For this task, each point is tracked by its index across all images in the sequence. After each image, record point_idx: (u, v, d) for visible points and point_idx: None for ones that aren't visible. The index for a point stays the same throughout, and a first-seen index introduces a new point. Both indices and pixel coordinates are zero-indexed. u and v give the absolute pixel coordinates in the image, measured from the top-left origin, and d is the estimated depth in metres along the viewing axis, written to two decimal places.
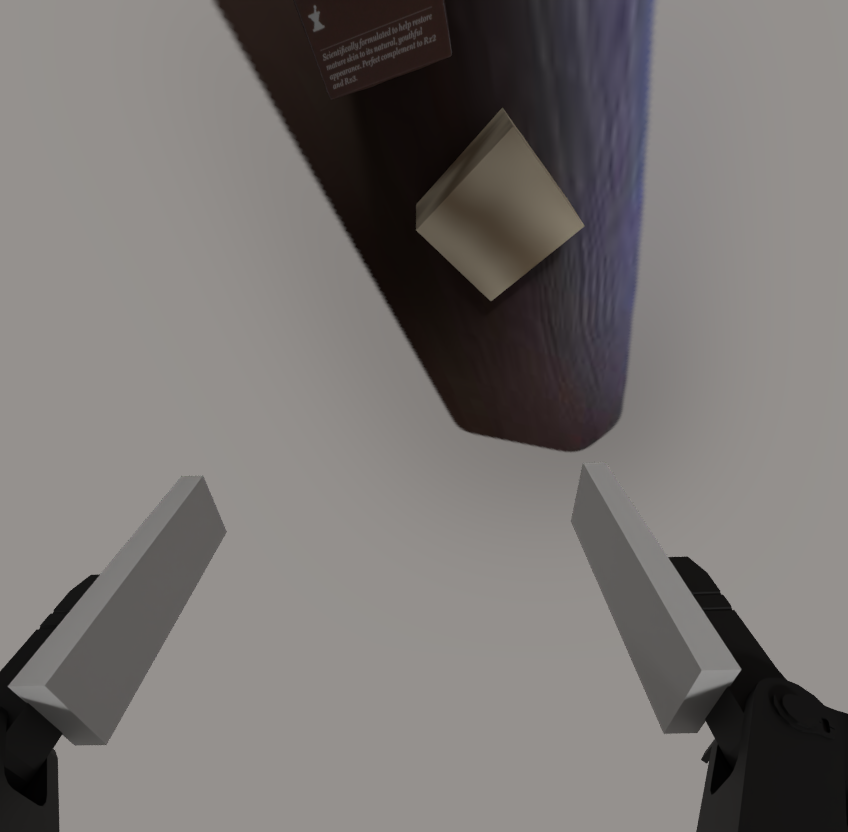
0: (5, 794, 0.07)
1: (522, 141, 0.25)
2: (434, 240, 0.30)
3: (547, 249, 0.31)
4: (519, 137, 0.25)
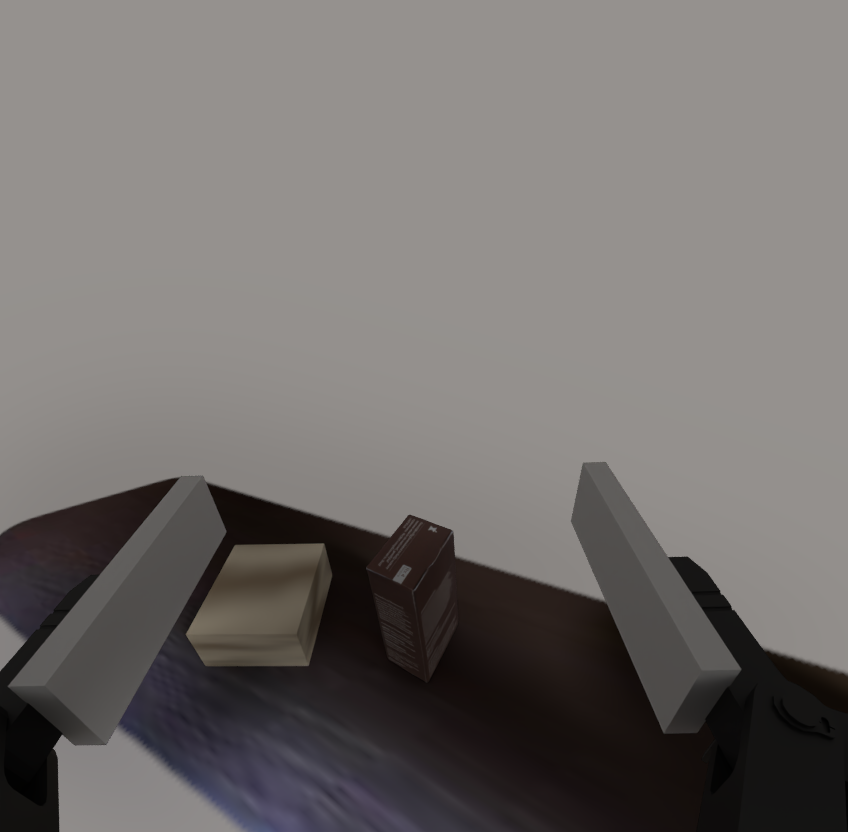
0: (5, 794, 0.07)
1: (283, 632, 0.31)
2: (307, 547, 0.38)
3: (209, 600, 0.34)
4: (287, 632, 0.31)
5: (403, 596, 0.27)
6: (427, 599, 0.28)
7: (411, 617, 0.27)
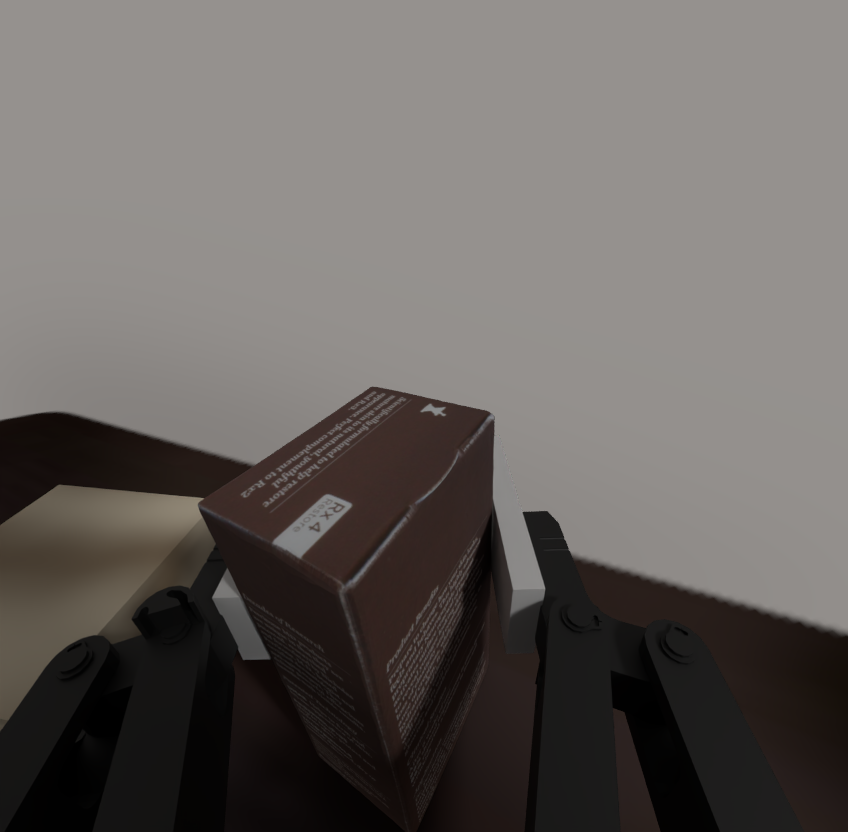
0: (204, 702, 0.08)
1: None
2: (182, 502, 0.18)
3: None
4: None
5: (313, 607, 0.07)
6: (412, 619, 0.08)
7: (352, 683, 0.08)
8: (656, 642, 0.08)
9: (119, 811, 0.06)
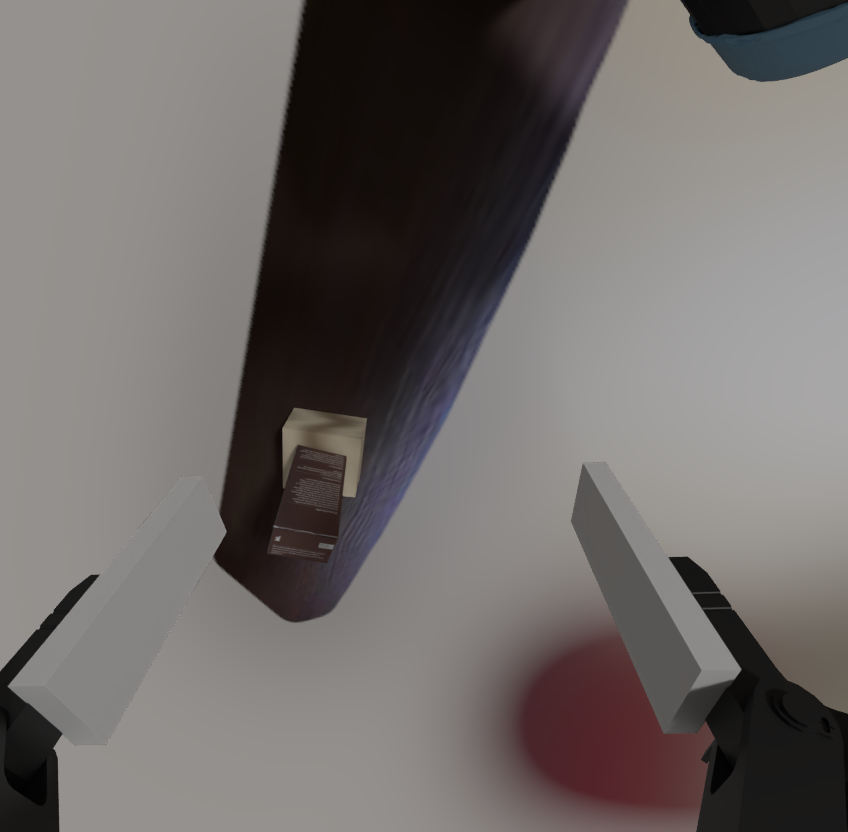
0: (5, 794, 0.07)
1: (360, 447, 0.46)
2: (286, 439, 0.45)
3: None
4: (360, 444, 0.46)
5: None
6: (326, 513, 0.38)
7: (339, 515, 0.39)
8: None
9: None
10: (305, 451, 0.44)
